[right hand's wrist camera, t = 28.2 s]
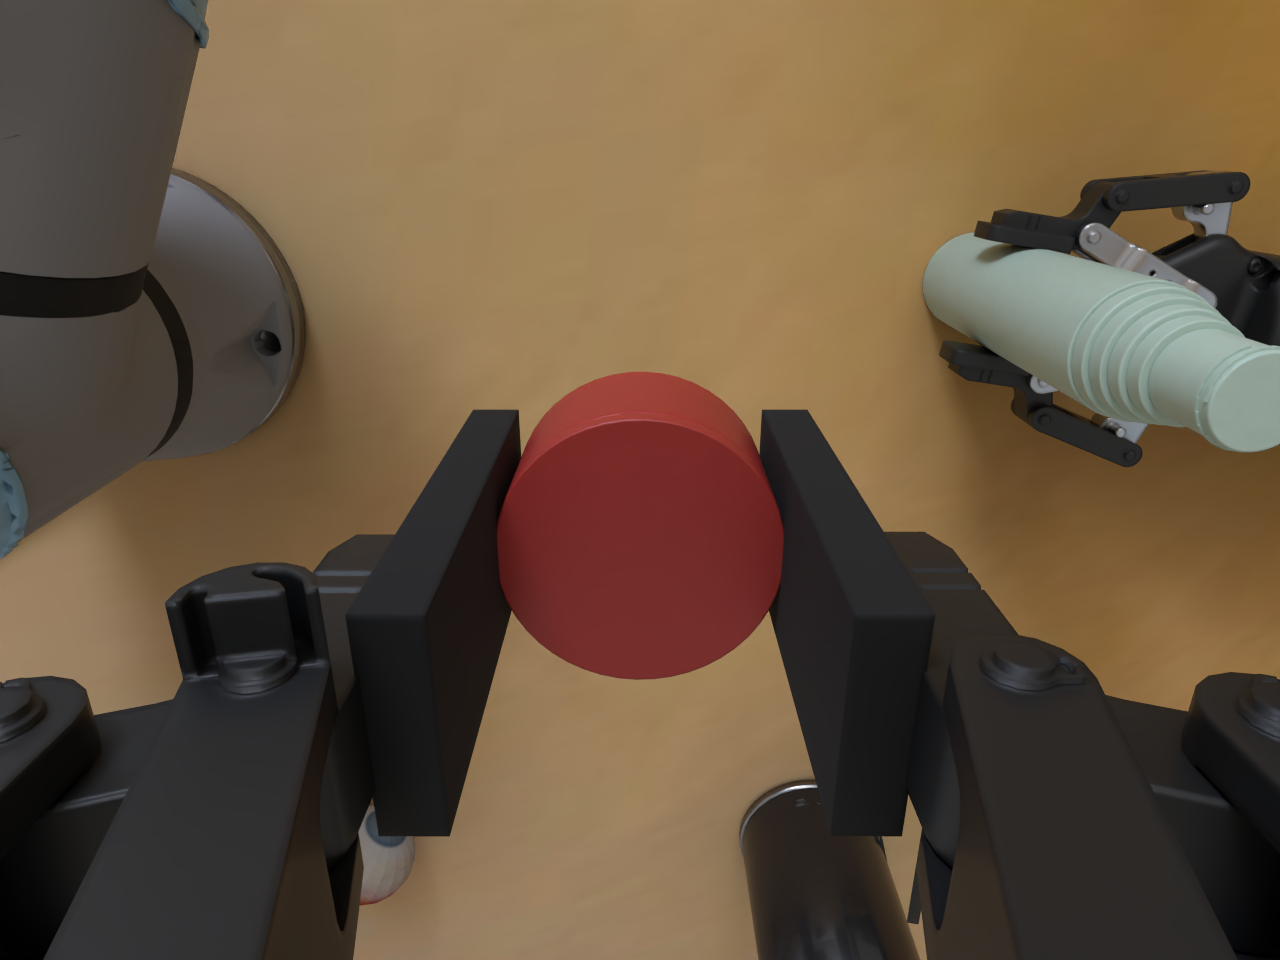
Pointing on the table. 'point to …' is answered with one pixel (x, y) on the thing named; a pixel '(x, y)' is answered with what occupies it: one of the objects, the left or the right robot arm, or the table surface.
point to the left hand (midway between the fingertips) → (965, 292)
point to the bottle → (1111, 339)
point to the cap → (640, 529)
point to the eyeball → (383, 860)
